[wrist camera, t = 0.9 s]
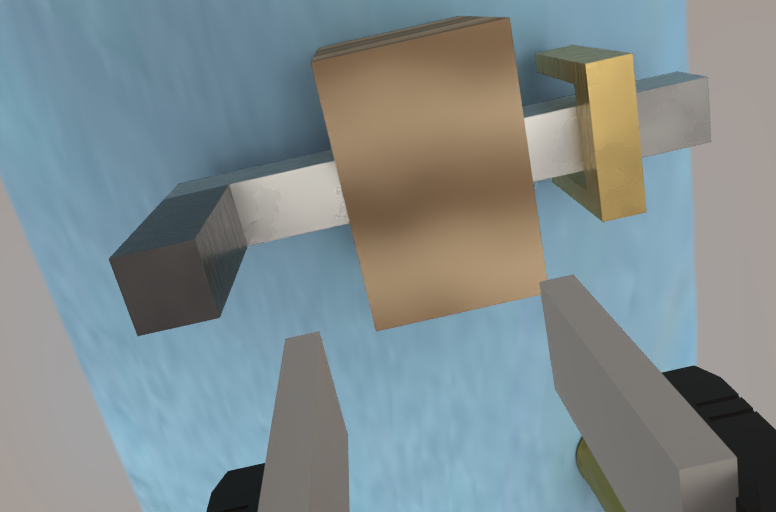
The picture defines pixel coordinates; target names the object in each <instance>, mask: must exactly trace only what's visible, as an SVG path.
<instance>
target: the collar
mask: <svg viewBox="0 0 776 512" xmlns="http://www.w3.org/2000/svg"><path fill="white" fill-rule="evenodd" d="M535 58H536V65H537V73H540V74H543V75H546V76H550V77H553V78H556V79H560V80H563V81H566V82H569V83H573V84H574V86H575V95H576V103H577V112H578V120H579V129H580V138H581V146H582V155H583V163H584V171H580V172H575V173H571V174H567V175H562V176H558V177H553V178H552V182H553V183H554V184H556V185H557V186H558V187H559V188H561V189H562V190H563V191H564V192H566V193H567V194H568V195H569V196H571V197H572V198H573V199H574V200H576V201H577V202H578V203H579V204H581V205H582V206H583V207H585V208H586V209H587V210H588V211H590V212H591V213H592V214H593V215H595V216H596V217H597V218H598V219H600V220H601V221H602V222H605V221H609V220H614V219H618V218H623V217H627V216H632V215H636V214H641V213H645V212H646V202H645V190H644V178H643V167H642V155H641V144H640V132H639V121H638V109H637V98H636V86H635V75H634V63H633V53H627V52H620V51H612V50H605V49H598V48H591V47H584V46H577V45H570V46H566V47H561V48H557V49H552V50H548V51H543V52H539V53H535Z"/></svg>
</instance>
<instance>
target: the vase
mask: <svg viewBox="0 0 776 512" xmlns="http://www.w3.org/2000/svg"><path fill="white" fill-rule="evenodd" d="M577 465H578V469H579V471H580V473H581V475H582V476H583V478H584V479H585V480H586V481H587V483H588V484H589V485H590V487H591V489H592V490H593V492H594V494H595V495H596V497H597V499H598V500H599V502H600V504H601V505H602V507H603V509H604V510H605V512H626V511H625V510H624V508H623V506H622V504H621V503H620V501H619V499H618V497H617V496H616V494H615V492H614V490H613V489H612V487H611V485H610V484H609V482H608V480H607V478H606V477H605V475H604V473H603V471H602V470H601V468H600V466H599V464H598V463H597V461H596V459H595V457H594V456H593V454H592V452H591V450H590V449H589V447H588V445H587V444H586V442H585V440H584V438H582V440H581V442H580V444H579V447H578V450H577Z"/></svg>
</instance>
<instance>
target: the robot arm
mask: <svg viewBox="0 0 776 512" xmlns="http://www.w3.org/2000/svg"><path fill="white" fill-rule="evenodd" d="M539 284H540V291H541V297H542V304H543V311H544V318H545V324H546V331H547V338H548V345H549V351H550V358H551V365H552V372H553V378H554V385H555V390H556V391H557V393H558V395H559V397H560V398H561V400H562V402H563V404H564V405H565V407H566V409H567V411H568V412H569V414H570V416H571V417H572V419H573V421H574V423H575V424H576V426H577V428H578V430H579V431H580V433H581V435H582V437H583V438H584V440H585V442H586V444H587V445H588V447H589V449H590V450H591V452H592V454H593V456H594V457H595V459H596V461H597V463H598V464H599V466H600V468H601V470H602V471H603V473H604V475H605V477H606V478H607V480H608V482H609V484H610V485H611V487H612V489H613V490H614V492H615V494H616V496H617V497H618V499H619V501H620V503H621V504H622V506H623V508H624V510H625V511H626V512H776V430H775V429H774V428H773V427H772V426H771V425H770V424H769V423H768V422H767V421H766V420H765V419H764V418H763V417H762V416H761V415H760V414H759V413H758V412H757V411H756V412H754V411H753V408H752V407H751V406H750V405H749V404H748V403H747V402H746V401H745V400H744V399H743V398H742V397H741V398H739V396H738V393H737V392H736V391H735V390H733V389H732V388H731V387H730V386H729V385H728V384H727V383H726V382H725V381H724V380H723V379H722V378H721V377H719V376H717V375H714V374H712V373H710V372H708V371H706V370H703V369H701V368H699V367H697V366H690V367H685V368H681V369H676V370H672V371H667V372H663V373H661V372H660V371H659V370H658V369H657V367H656V366H655V365H654V364H653V363H652V362H651V361H650V360H649V359H648V357H647V356H646V355H645V354H644V353H643V352H642V351H641V350H640V349H639V347H638V346H637V345H636V344H635V343H634V342H633V341H632V340H631V338H630V337H629V336H628V335H627V334H626V333H625V332H624V331H623V330H622V328H621V327H620V326H619V325H618V324H617V323H616V322H615V321H614V319H613V318H612V317H611V316H610V315H609V314H608V313H607V312H606V311H605V309H604V308H603V307H602V306H601V305H600V304H599V303H598V302H597V300H596V299H595V298H594V297H593V296H592V295H591V294H590V293H589V292H588V290H587V289H586V288H585V287H584V286H583V285H582V284H581V283H580V282H579V280H578V279H577V278H576V277H575V276H574V275H569V276H565V277H560V278H556V279H551V280H547V281H542V282H539ZM207 512H349V467H348V434H347V430H346V427H345V423H344V419H343V416H342V412H341V409H340V405H339V401H338V398H337V394H336V390H335V387H334V383H333V379H332V376H331V372H330V368H329V365H328V361H327V358H326V354H325V350H324V347H323V343H322V339H321V336H320V332H314V333H310V334H305V335H301V336H296V337H292V338H287V339H285V345H284V351H283V357H282V363H281V370H280V376H279V382H278V388H277V394H276V400H275V407H274V413H273V419H272V425H271V431H270V437H269V444H268V450H267V456H266V462H265V463H263V464H258V465H254V466H249V467H245V468H240V469H236V470H231V471H228V472H227V473H226V474H225V475H224V477H223V478H222V479H221V481H220V482H219V483H218V485H217V486H216V487H215V489H214V490H213V491H212V493H211V496H210V500H209V504H208V508H207Z"/></svg>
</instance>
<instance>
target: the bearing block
mask: <svg viewBox="0 0 776 512" xmlns="http://www.w3.org/2000/svg"><path fill="white" fill-rule="evenodd" d="M311 65H312V70H313V74H314V78H315V82H316V86H317V90H318V94H319V98H320V103H321V107H322V111H323V115H324V119H325V123H326V127H327V131H328V135H329V140H330V144H331V148H332V152H333V156H334V160H335V164H336V168H337V173H338V177H339V181H340V185H341V189H342V193H343V197H344V201H345V205H346V210H347V214H348V218H349V222H350V226H351V230H352V234H353V238H354V243H355V247H356V251H357V255H358V259H359V263H360V267H361V271H362V275H363V280H364V284H365V288H366V292H367V296H368V300H369V304H370V308H371V313H372V317H373V321H374V325H375V329H376V331H380V330H384V329H389V328H393V327H398V326H402V325H407V324H411V323H416V322H420V321H425V320H429V319H434V318H438V317H443V316H447V315H452V314H456V313H460V312H465V311H469V310H474V309H478V308H483V307H487V306H492V305H496V304H501V303H505V302H510V301H514V300H519V299H523V298H528V297H532V296H537V295H541V291H540V284H539V282H542V281H547V275H546V268H545V261H544V254H543V247H542V240H541V233H540V226H539V219H538V212H537V205H536V198H535V191H534V185H533V178H532V171H531V164H530V157H529V150H528V143H527V136H526V129H525V122H524V115H523V108H522V101H521V94H520V87H519V80H518V73H517V66H516V59H515V52H514V45H513V38H512V31H511V24H510V18H505V17H473V16H457V17H453V18H449V19H444V20H440V21H435V22H431V23H426V24H422V25H418V26H413V27H409V28H404V29H400V30H396V31H391V32H387V33H382V34H378V35H373V36H369V37H365V38H360V39H356V40H351V41H347V42H343V43H338V44H334V45H329V46H325V47H320V48H319V49H318V50H317V52H316V54H315V56H314V58H313V60H312V61H311Z"/></svg>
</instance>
